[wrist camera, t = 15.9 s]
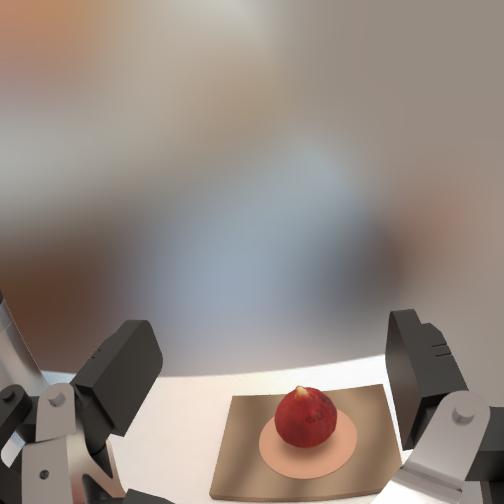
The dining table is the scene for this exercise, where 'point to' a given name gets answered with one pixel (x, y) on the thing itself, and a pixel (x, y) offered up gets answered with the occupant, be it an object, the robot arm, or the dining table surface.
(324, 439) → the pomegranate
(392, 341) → the robot arm
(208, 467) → the dining table surface
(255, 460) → the serving board
